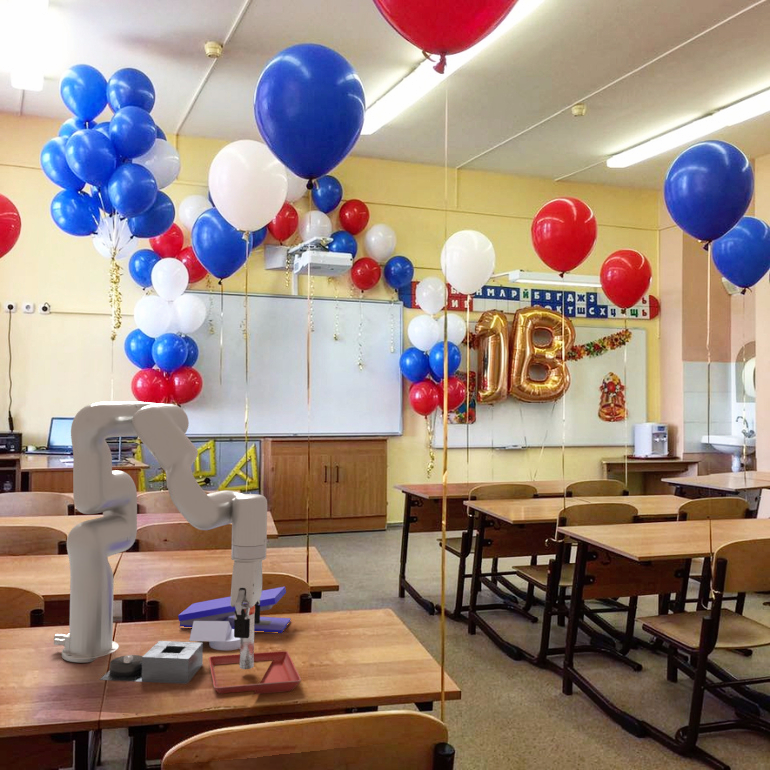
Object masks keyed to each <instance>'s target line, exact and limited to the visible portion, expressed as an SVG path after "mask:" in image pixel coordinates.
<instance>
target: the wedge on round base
mask: <svg viewBox="0 0 770 770" xmlns="http://www.w3.org/2000/svg"><path fill="white" fill-rule="evenodd" d="M188 642H208V643H209V647H210V648H211V649H214V650H217V651H234V650H235V651H236V650H240V638H235V637H234V629H232V628H231V626H230V623H229V621H194V622H193V626H192V629H190V636H189V640H188Z"/></svg>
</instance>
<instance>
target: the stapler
mask: <svg viewBox="0 0 770 770" xmlns="http://www.w3.org/2000/svg"><path fill="white" fill-rule="evenodd" d="M286 594H287V590H286V586H280V587H275V588H269V589H265V590H264V589H262V594H261V597H260V612H263V611H268V610H269V611H270V610H271V609H272V608H273V606H275V605H277V604H278V602H279V601H280V600H281V599H282V598H283V597H284V595H286ZM230 601H231V596H226V597H220V598H215V599H209V600H204V601H199V602H195V603H194V602H193V603H192V604H191V605H189V606H188V607H187V608H186V609H184V610H183V611H182V612H181V613H179V614H178V615H177V616H178V622H179V627H180V626H184V627H192V626H193V622H194V621H229V623H230V626H231V628H232V629H234V616H235V610H236V608H235V607H231V605H230ZM243 604H247V603H243ZM291 619H292V618H290V617H274V616H273V617H270V616H260V622H259V623H258V624H254V631H264V632H278V633H282V632H283V630H284V629H285V628H287V627H288V626H287V624H288V623H289V622H290V623H291V621H292V620H291ZM290 620H291V621H290ZM290 623H289V624H290ZM286 626H287V627H286ZM285 630H286V629H285ZM285 630H284V631H285ZM283 633H284V632H283ZM283 633H282V634H283Z"/></svg>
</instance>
